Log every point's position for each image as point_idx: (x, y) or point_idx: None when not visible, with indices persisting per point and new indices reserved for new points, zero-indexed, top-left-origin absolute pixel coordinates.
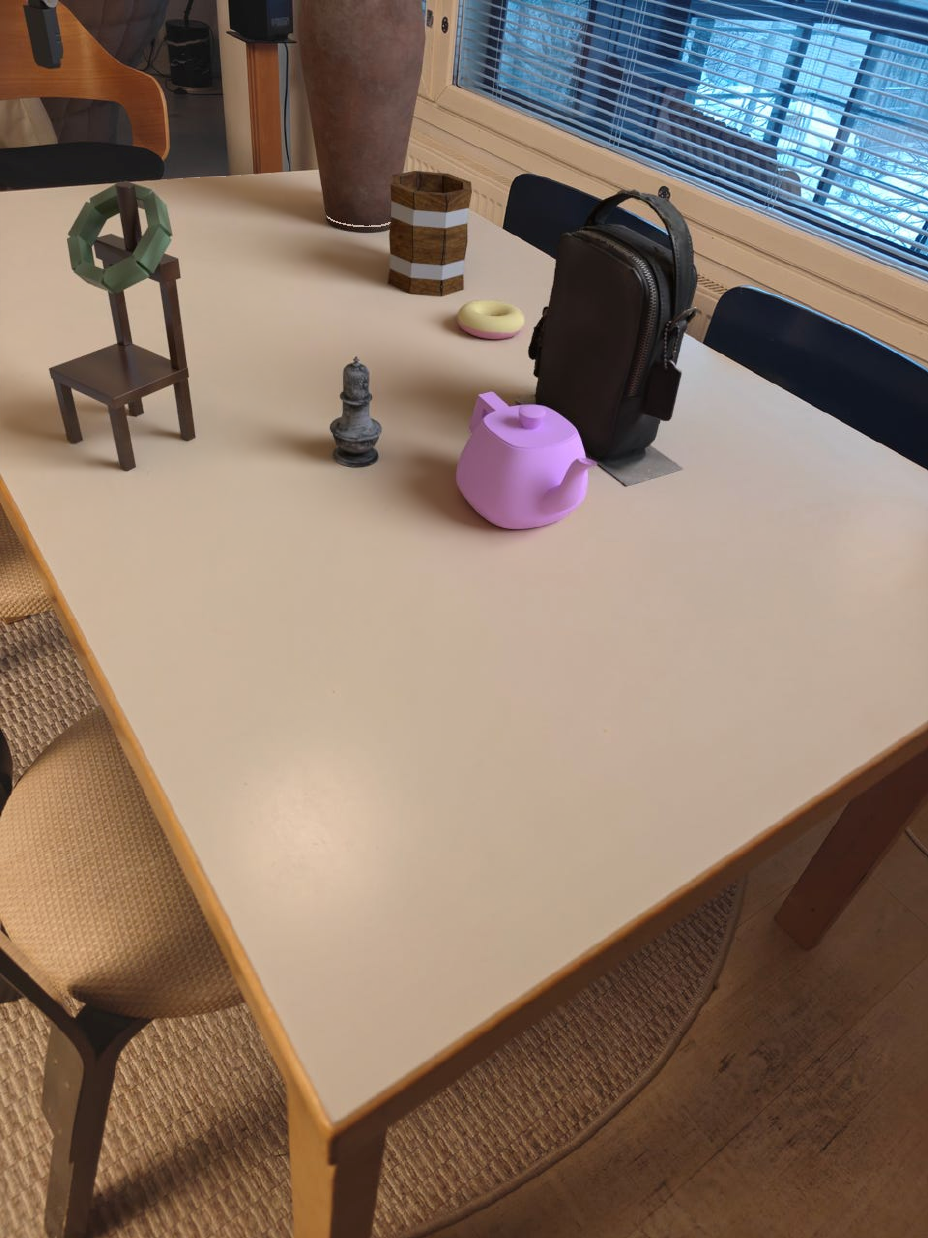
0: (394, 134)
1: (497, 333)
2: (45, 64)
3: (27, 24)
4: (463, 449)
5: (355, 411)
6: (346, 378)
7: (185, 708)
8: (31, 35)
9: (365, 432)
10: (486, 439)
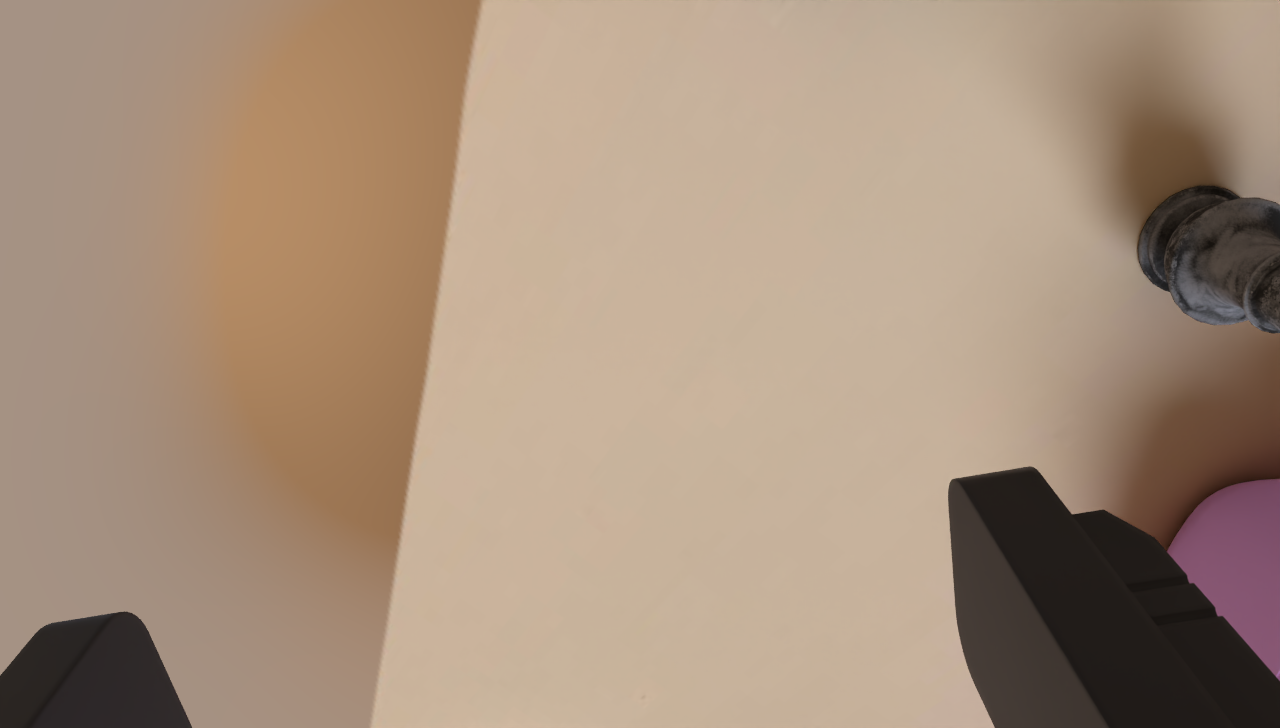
0: None
1: None
2: (959, 586)
3: (1048, 648)
4: (1266, 544)
5: (1242, 307)
6: None
7: (464, 608)
8: (1021, 606)
9: (1221, 310)
10: (1275, 639)
